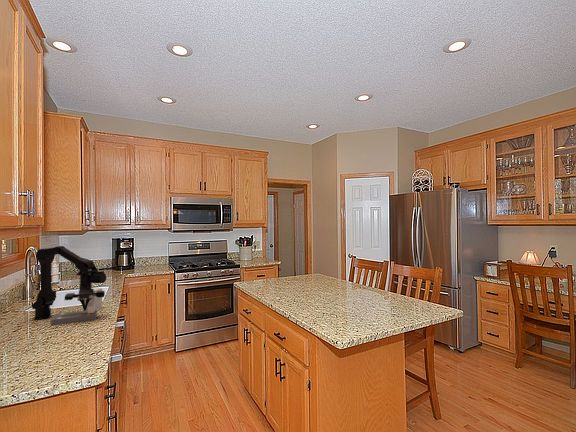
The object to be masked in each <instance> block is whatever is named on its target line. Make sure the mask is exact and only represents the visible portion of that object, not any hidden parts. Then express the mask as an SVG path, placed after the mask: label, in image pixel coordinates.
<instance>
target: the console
mask: <svg viewBox="0 0 576 432" xmlns="http://www.w3.org/2000/svg"><path fill="white" fill-rule="evenodd" d="M97 315H98V310H95V311H94V313H88V311H84V310H83V311H82V310H80V311H71V312H63V313H55V314H54V316H53V317H52V318H51V320H50V326H58V325H59V326H60V325H67V324H74V323H75V324H76V323H81V322H82V323H84V322H91V321H96V319H97Z"/></svg>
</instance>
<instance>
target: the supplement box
mask: <svg viewBox="0 0 576 432" xmlns="http://www.w3.org/2000/svg"><path fill="white" fill-rule="evenodd" d="M92 289H94V293H96V292H97V291H103V288H94V287H92ZM86 299H87V298H85V304H86ZM91 303H92V304H95V310H97V311H98V310H101V309H103V297H99V298H98V297H96V296H93V299H92V300H90V301H89V303H88V305H89V304H91ZM88 305H87V308H86V311H88Z"/></svg>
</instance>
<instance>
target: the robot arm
mask: <svg viewBox="0 0 576 432" xmlns="http://www.w3.org/2000/svg"><path fill="white" fill-rule="evenodd" d="M35 253H36V254H35V255H36V259H37V260H36V261H37V262H38V263H39V264H40V266H39V267H40V273H39V274H40V290H39V292H38V294H37V296H36V300H35V302H33V303H32V304H31V308H32V309H33V310H34V318H33V320H34V321H38V320H45V319H49V318H50V317H51V316H52V308H51V306H53V304H54V302H56V301H55V300H56V298H57V290H54V289H53V288H52V263H53V262H54V260H55V257H56V255H59V256H60V257H61V258H64V259H65V260H67V261H68V262H71V264H73V265H74V266H75V268H76V269H77V270H78V272H77V273H76V276H79V290H78V294H75V292H69V293H66V294H65V295H64V301H72V300H73V299H74V298H75V299H76V298H77V299H76V301H77V302H80V303H81V306H82V308H83V311H86V308H87V305H88V303H89V301H90V300H92V299H93V296H96V297H98V298H99V297H102V298H104V297H105V293H106V292H105V290H102V291H97V292H96V293H94V289H92V288H93V287H92V286H93V285H92V284H104V283H105V282H106V280H107V275H106V273H105V271H104V270H101V271H99V270H98V268H97V266H96V265H95V264H94V263H95V262H94V261H93V260H91V259H88V258H83V257H81V256H79V255H77V254H76V253H74V252H73V251H71V250H69V248H66V247H65V246H63V245H57V246H55V247H47V248H45V247H44V248H40V249H38V250H37V251H36V252H35ZM85 298H87V299H86V304H85Z"/></svg>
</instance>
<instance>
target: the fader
mask: <svg viewBox="0 0 576 432" xmlns="http://www.w3.org/2000/svg"><path fill="white" fill-rule="evenodd" d="M94 311H95V304H92V303H91V304H89V305H88V313H94Z"/></svg>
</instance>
